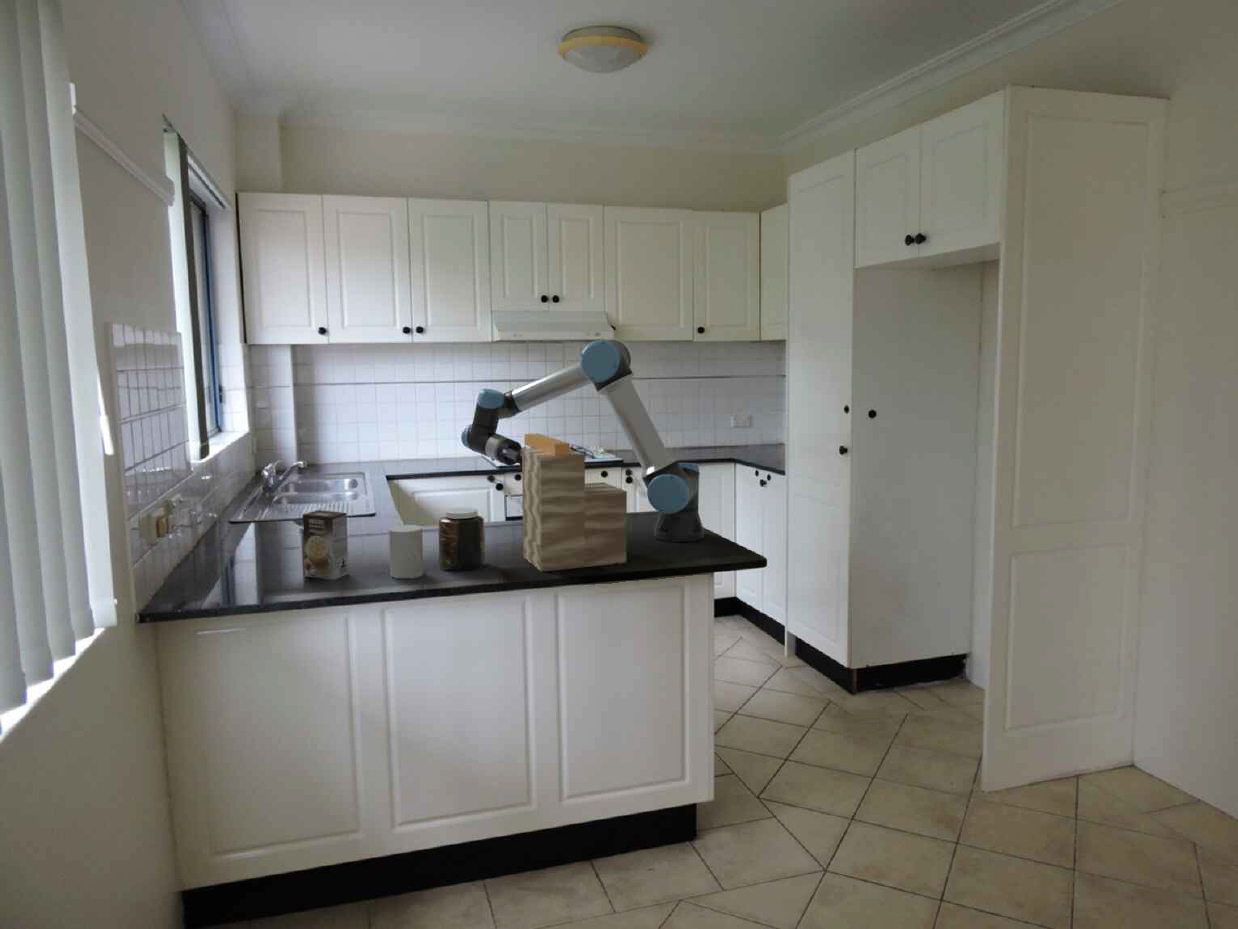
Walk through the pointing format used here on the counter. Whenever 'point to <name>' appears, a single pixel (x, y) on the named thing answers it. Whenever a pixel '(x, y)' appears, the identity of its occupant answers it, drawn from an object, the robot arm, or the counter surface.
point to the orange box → (547, 444)
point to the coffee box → (325, 544)
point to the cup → (406, 551)
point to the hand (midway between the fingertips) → (558, 472)
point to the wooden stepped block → (569, 514)
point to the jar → (461, 540)
